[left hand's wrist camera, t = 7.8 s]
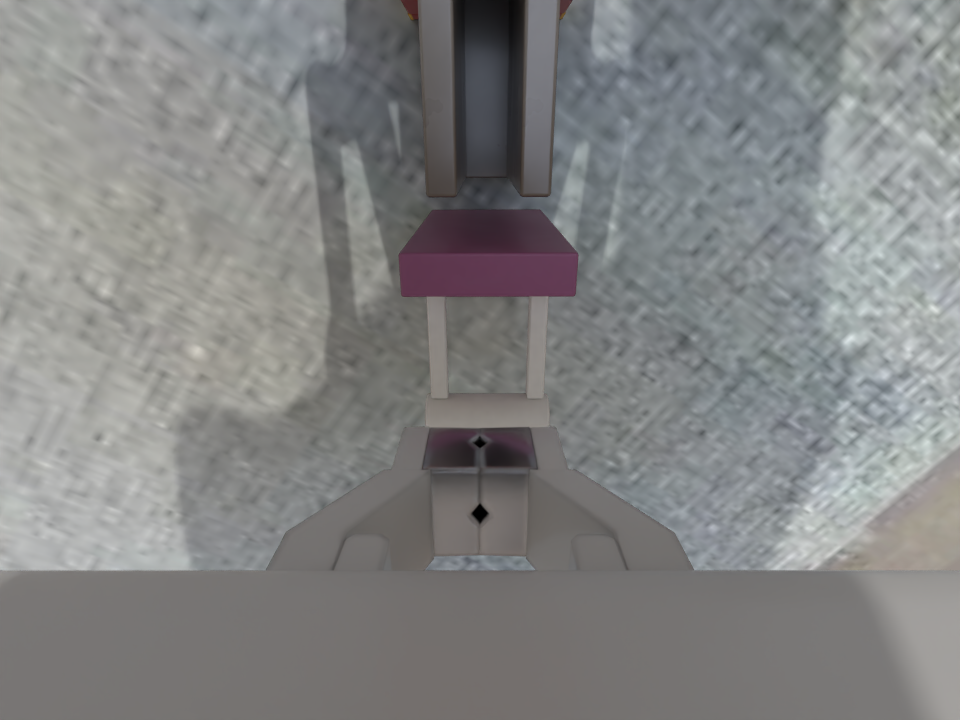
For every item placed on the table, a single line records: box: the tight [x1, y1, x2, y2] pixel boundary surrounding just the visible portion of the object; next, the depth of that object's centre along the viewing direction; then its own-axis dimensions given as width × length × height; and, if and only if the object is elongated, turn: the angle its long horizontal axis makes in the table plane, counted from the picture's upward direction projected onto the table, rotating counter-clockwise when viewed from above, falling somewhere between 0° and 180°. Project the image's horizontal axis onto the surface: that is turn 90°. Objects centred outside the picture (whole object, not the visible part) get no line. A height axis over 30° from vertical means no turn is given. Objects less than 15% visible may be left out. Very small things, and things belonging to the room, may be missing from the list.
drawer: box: [399, 0, 578, 428], centre depth 16 cm, size 25×5×10 cm, turn 1°
